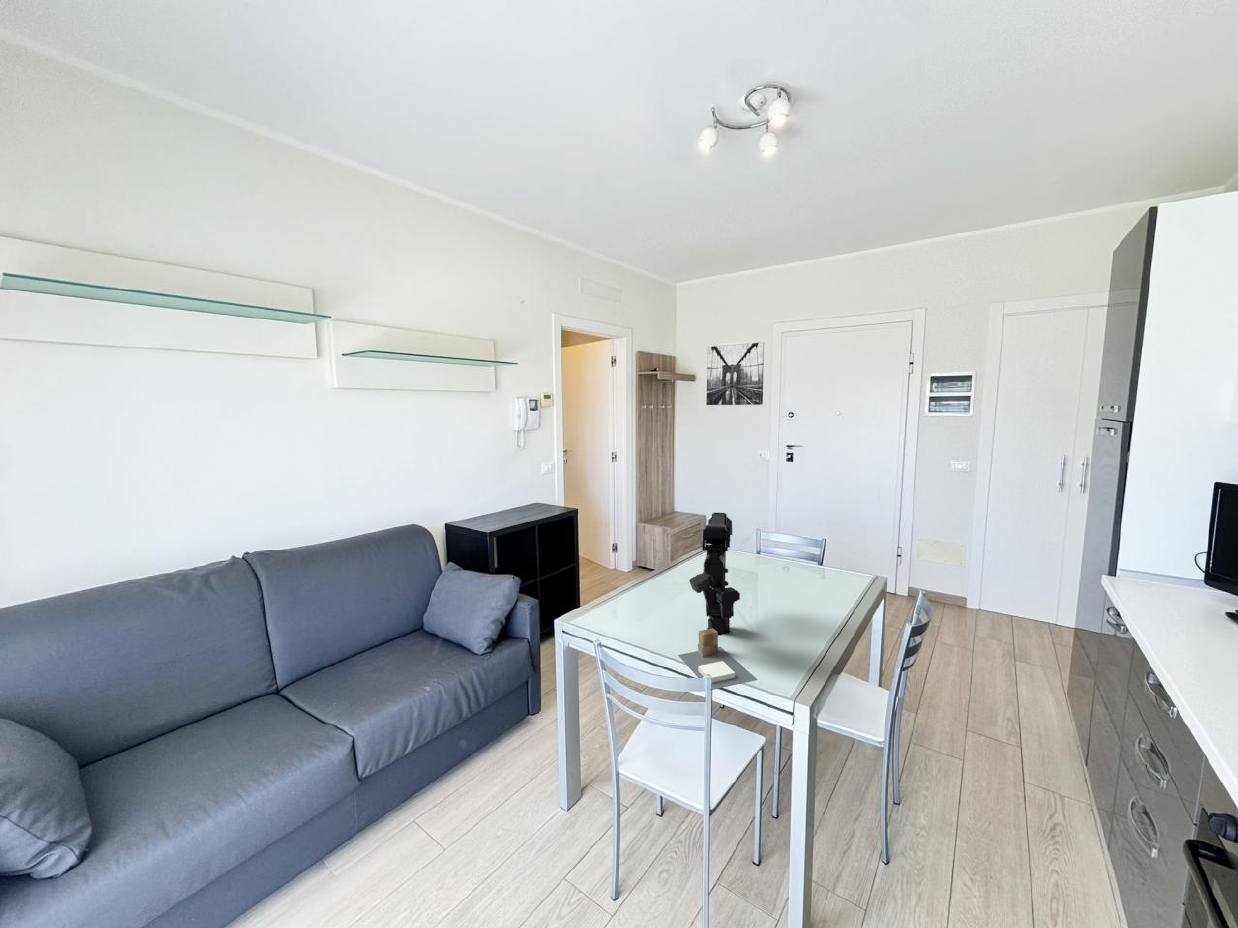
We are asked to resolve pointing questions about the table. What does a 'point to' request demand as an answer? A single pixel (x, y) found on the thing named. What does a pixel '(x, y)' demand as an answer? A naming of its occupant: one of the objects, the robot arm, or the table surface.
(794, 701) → the table surface
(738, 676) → the mat
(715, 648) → the block
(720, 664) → the tile
